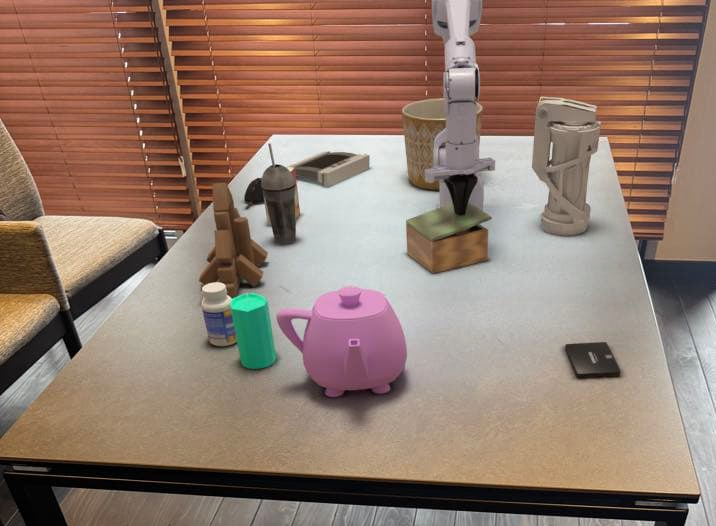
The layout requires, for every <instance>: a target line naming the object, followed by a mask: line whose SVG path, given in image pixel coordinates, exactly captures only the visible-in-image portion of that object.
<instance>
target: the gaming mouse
mask: <svg viewBox="0 0 716 526" xmlns="http://www.w3.org/2000/svg"><path fill="white" fill-rule="evenodd" d="M244 203H247V206H246V207H245V209H246V210H248V209H249V207H252V205H253V204H263V203H265V202H264V195H263V192H262V189H261V177H256V178H255V179H253V180H251V181H250V183H249V184H248V186H247V188H246V189H245V193H244Z"/></svg>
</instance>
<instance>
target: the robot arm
mask: <svg viewBox="0 0 716 526" xmlns="http://www.w3.org/2000/svg"><path fill="white" fill-rule="evenodd" d="M482 15H483V0H431V19H432V28H433V34H435V35H437V36H439V37H441V38H442V41H443V45H444V72H443V77H442V78H443V81H442V82H443V83H442V84H443V85H442V87H443V90H442V91H443V92H442V93H443V94H442V95H443V98H444V103H445V115H446V128H445V129H444V130H443V131H441V132H440V133H439V134H438V135H437V136H436V137H435V140H434V148H433V165H434V168H431V169H427V170H425V181H427V182H429V183H433V182H434V181H437V180H439V181H440V190H439V208H440V207H443V206H446V205H448V204H451V203H453V207H454V212H455V213H456V214H457V215H459V216H460V215H464V214H465V213H466V208H467V205H468V203H470V204H472V205H473V206H475V207H477V208H478V209H480V210H482V211H483V212H484V195H485V190H484V189H485V187H484V182H483V180H482V178H481V176H480V175H479V173H481V172H487V171H489V172H493V171H496V159H494V158H492V157H484V158H480V144H479V145H478V138H477V135H476V112H477V104H476V102H477V103H479V100H480V95H481V74H480V68H479V65H478V63H477V58H476V57H477V56H476V55H477V54H476V44H475V42H474V40H473V39H472V38H471V36H473V35H474V34H476V33H478V32H479V27H480V26H481V20H482ZM443 143H446V145H443V146H440V145H441V144H443Z"/></svg>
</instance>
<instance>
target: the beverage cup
mask: <svg viewBox="0 0 716 526" xmlns="http://www.w3.org/2000/svg"><path fill="white" fill-rule="evenodd" d="M267 144H268V151H269V155H270V160H271V165H269V166H268V167H266V169H265V170H264V171H263V173H262V176H261V177H262V180H261V189H262V192H263V195H264V197H265V200H266V204H267V209H268V213H269V217H270V222H271V225H270V227H271V230H272V234H273V238H274V241H275V243H276V244H277V245H282V246H283V245H285V246H287V245H291V244H294V243H295V242H297V238H296V237H297V226H296V225H297V224H296V223H297V221H296V220H295V186H296V184H295V181H294V178H293V175H292V174H291V172H290V171H289V170H288V169H287V168H286V167H287V166H285V165H282V164H276V162H275V158H274V154H273V149H272V144H271V143H267Z"/></svg>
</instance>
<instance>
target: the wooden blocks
mask: <svg viewBox="0 0 716 526" xmlns="http://www.w3.org/2000/svg"><path fill="white" fill-rule="evenodd" d="M211 186H212V206H213V207H212V209H213V217H214V223H215V228H216V230H214V247H213V248H212V249H211V251H209V254H208V255H207V257H206V262H207V263H209V264H207V266H206V267H205V269H204V271H202V273H201V274H200V275H199V278H198V282H200V283H202V284H203V286H205V285H206V284H209V283H214V282H218V281H219V283H223V284H225V286H226V290H227V295H228V296H230V297H231V298H232V299H233V298H235V297H237V295H238V292H239V288H240V284H241V280H242V279H243V280H244V281H246V282H247V283H248V284H249V285H251V286H252V287H256V286H257V285H258V284H259V283H260V281H261V280H262V279H263V275H264V271H263V270H261V268H260V267H261V266H262V264H263V263H264V262H265V261H266V259H267V258H268V253H269V252H268V251H267V250H266V249H264V247H262V246H261V245H260V244H258V243H257V242H256V241H254V240H253V239H252V237H251V232H250V231H251V229H250V225H249V219H248V218H247V217H246V216H241V215H240V212H239V211H238V209H237V207H235V202H234V199H233V194H232V192H231V190H230V188H229V185H228V183H227V182H218V183H217V182H216V183H215V182H214V183H212V185H211ZM203 299H204V297H202V300H201V302H202V301H203Z"/></svg>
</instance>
